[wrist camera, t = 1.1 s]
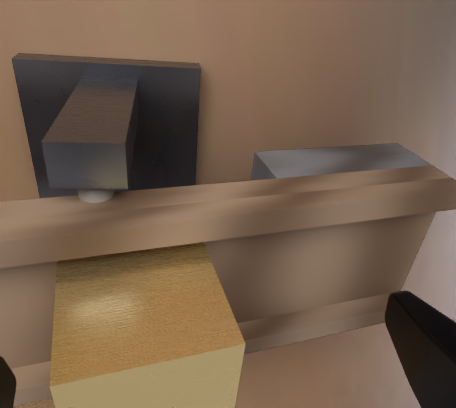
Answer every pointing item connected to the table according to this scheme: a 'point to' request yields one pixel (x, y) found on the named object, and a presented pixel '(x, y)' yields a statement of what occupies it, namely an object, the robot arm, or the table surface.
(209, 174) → the table surface
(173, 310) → the yellow wooden cube
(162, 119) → the beam stand
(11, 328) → the beam
